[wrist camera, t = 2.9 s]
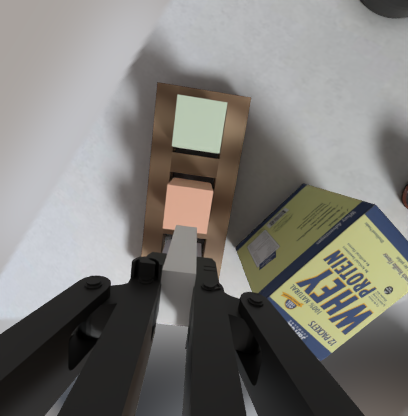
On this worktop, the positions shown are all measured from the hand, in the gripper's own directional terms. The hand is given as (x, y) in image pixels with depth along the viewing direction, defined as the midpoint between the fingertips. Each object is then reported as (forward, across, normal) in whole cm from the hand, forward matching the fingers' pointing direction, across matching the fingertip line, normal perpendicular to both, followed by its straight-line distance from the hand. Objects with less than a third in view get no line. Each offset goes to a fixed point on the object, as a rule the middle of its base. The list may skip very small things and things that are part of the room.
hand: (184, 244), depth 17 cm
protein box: (+21, +17, -5) cm, 27 cm away
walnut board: (+21, 0, 0) cm, 21 cm away
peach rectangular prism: (+16, 0, 0) cm, 16 cm away
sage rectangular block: (+16, 0, +9) cm, 19 cm away
